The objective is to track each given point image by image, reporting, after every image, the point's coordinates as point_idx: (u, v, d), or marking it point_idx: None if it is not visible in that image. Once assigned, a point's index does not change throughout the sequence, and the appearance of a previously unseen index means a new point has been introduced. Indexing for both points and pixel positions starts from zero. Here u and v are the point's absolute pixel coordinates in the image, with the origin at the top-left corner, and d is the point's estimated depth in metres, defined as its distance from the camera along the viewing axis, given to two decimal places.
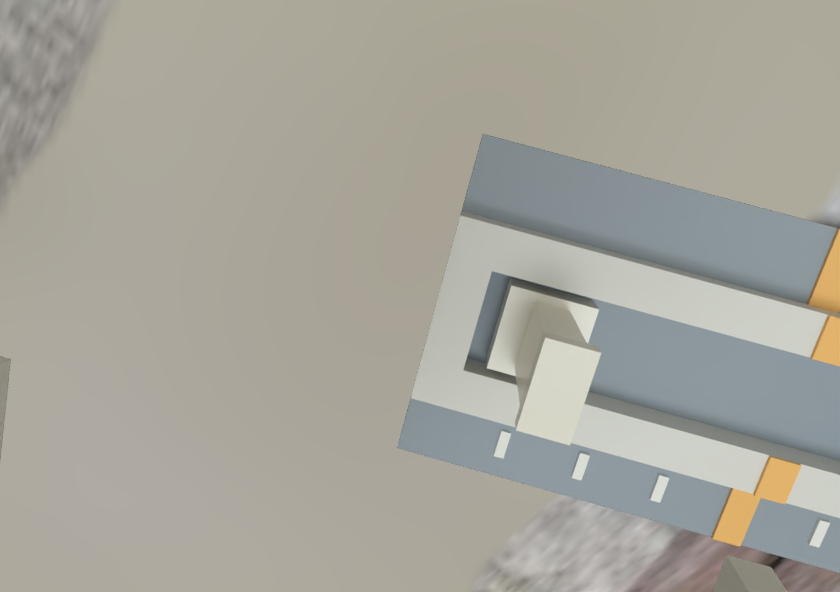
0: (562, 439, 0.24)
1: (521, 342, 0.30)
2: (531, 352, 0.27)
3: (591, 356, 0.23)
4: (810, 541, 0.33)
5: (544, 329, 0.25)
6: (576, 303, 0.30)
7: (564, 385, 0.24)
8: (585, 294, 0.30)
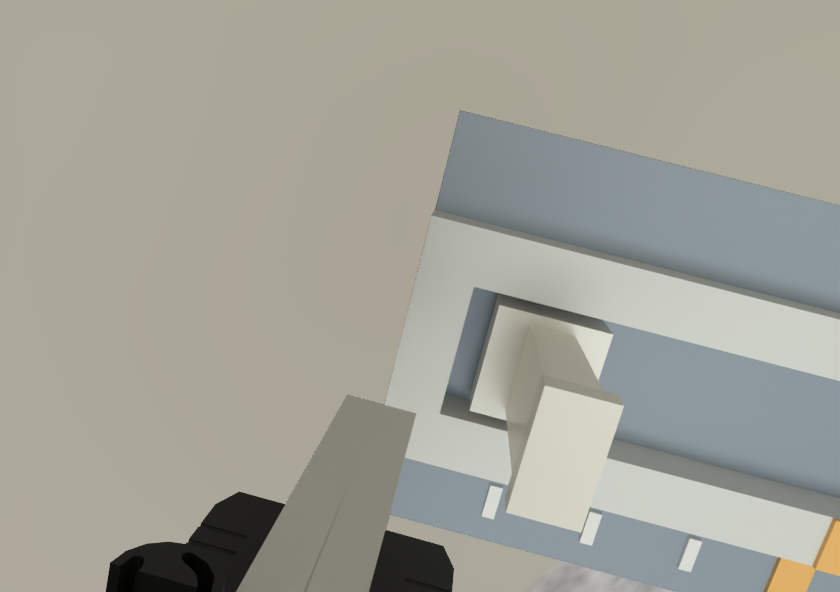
0: (570, 524, 0.17)
1: (513, 377, 0.24)
2: (526, 397, 0.20)
3: (610, 410, 0.17)
4: None
5: (543, 369, 0.19)
6: (583, 327, 0.23)
7: (572, 451, 0.17)
8: (595, 315, 0.23)
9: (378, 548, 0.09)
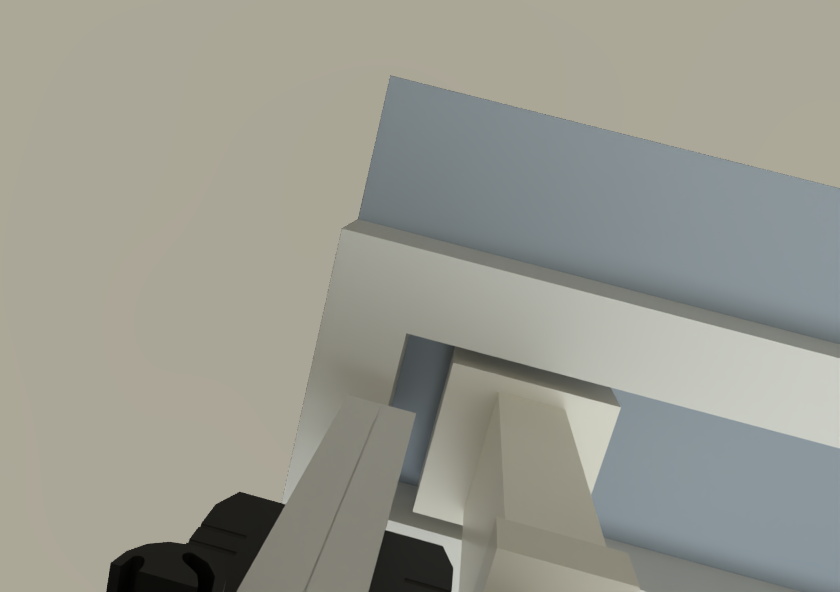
0: None
1: (475, 466, 0.16)
2: (482, 522, 0.13)
3: None
4: None
5: (504, 491, 0.11)
6: (577, 395, 0.16)
7: None
8: (584, 376, 0.16)
9: (378, 548, 0.09)
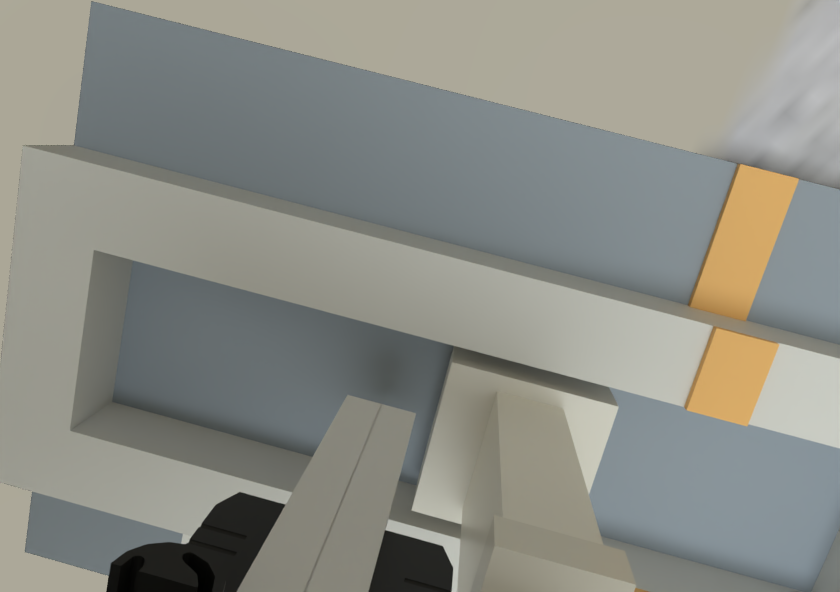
0: None
1: (473, 465, 0.16)
2: (480, 520, 0.13)
3: None
4: None
5: (502, 490, 0.11)
6: (575, 395, 0.16)
7: None
8: (264, 291, 0.16)
9: (378, 548, 0.09)
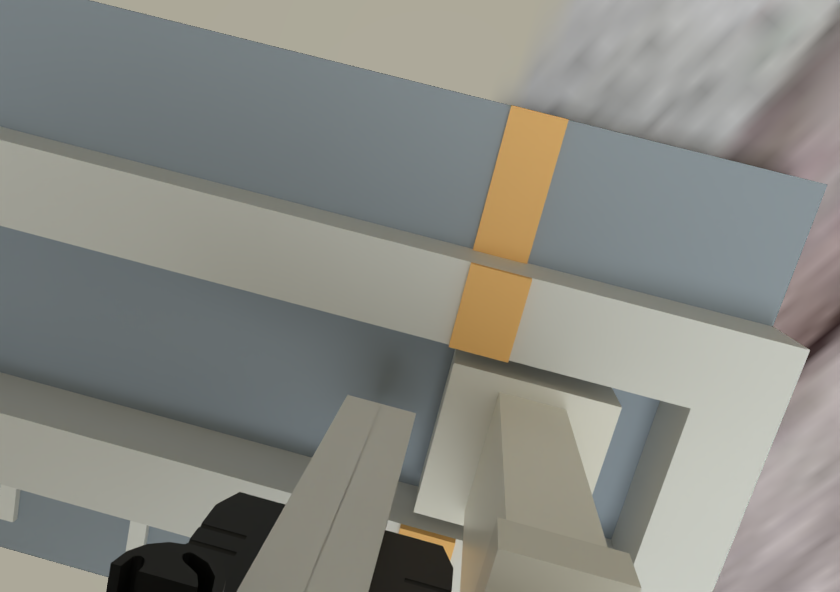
0: None
1: (475, 467, 0.16)
2: (483, 522, 0.13)
3: None
4: None
5: (505, 491, 0.11)
6: (578, 396, 0.16)
7: None
8: (38, 232, 0.16)
9: (378, 548, 0.09)
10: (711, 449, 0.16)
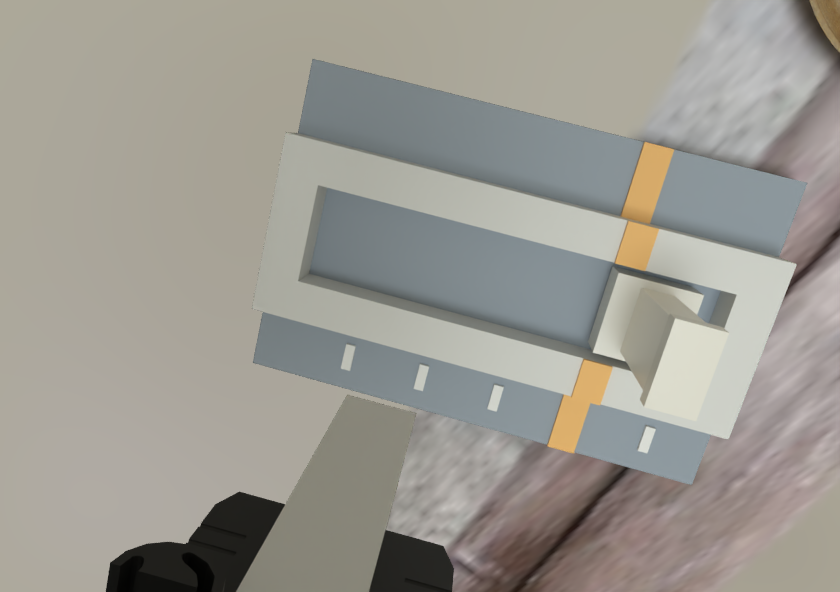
0: (688, 415, 0.25)
1: (627, 327, 0.32)
2: (648, 335, 0.28)
3: (719, 336, 0.25)
4: (638, 447, 0.35)
5: (665, 312, 0.27)
6: (681, 289, 0.31)
7: (691, 364, 0.25)
8: (404, 205, 0.32)
9: (378, 548, 0.09)
10: (747, 315, 0.31)
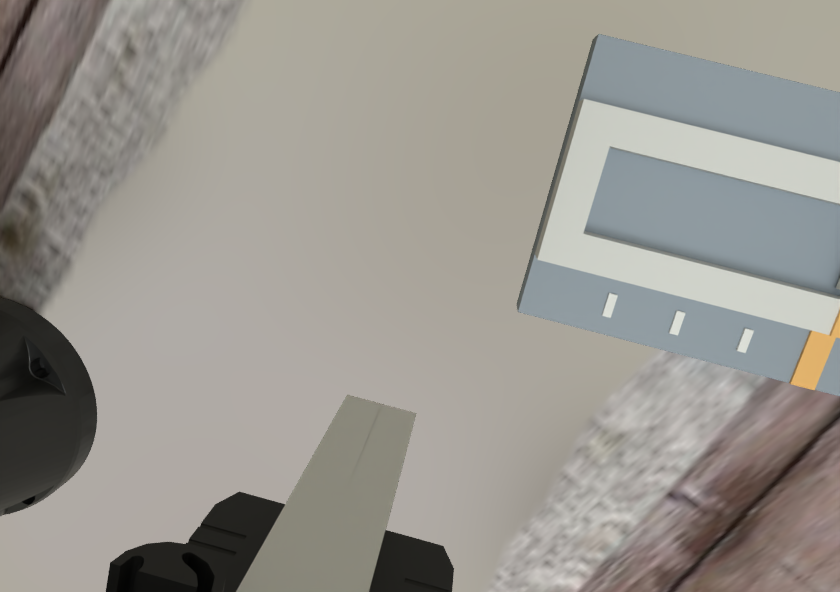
0: None
1: None
2: None
3: None
4: None
5: None
6: None
7: None
8: (688, 164, 0.36)
9: (378, 548, 0.09)
10: None
